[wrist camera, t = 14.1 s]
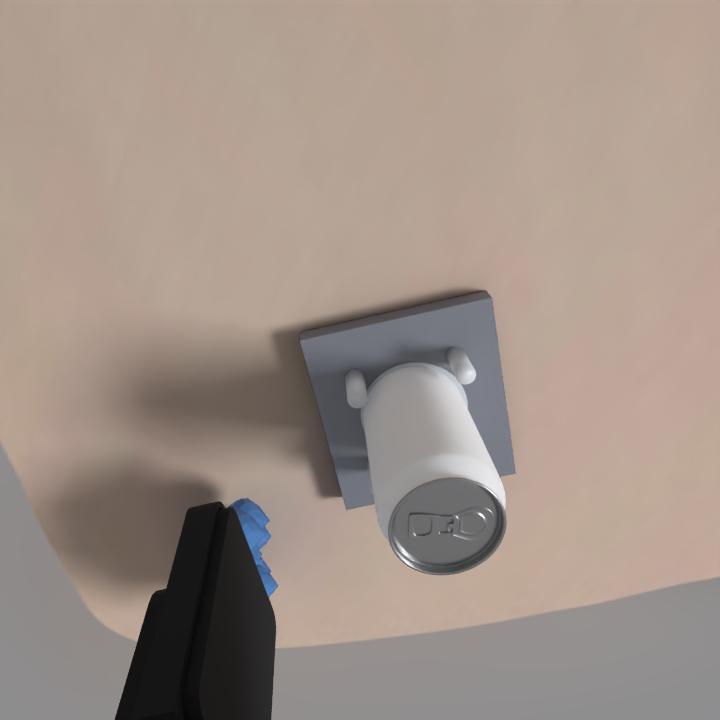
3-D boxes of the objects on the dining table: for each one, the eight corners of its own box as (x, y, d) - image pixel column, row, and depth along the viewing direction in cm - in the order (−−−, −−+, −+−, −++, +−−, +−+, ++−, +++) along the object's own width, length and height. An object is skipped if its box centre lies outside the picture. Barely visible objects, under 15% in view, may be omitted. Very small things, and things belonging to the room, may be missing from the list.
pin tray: (300, 332, 39) (298, 360, 35) (485, 290, 39) (505, 313, 35) (345, 497, 44) (348, 538, 40) (509, 461, 44) (529, 499, 40)
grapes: (184, 455, 42) (137, 582, 31) (284, 457, 43) (271, 582, 32) (192, 587, 47) (154, 738, 36) (282, 587, 47) (271, 736, 36)
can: (458, 450, 41) (509, 579, 30) (362, 453, 41) (378, 585, 30) (465, 362, 39) (522, 468, 28) (362, 364, 39) (379, 472, 28)
